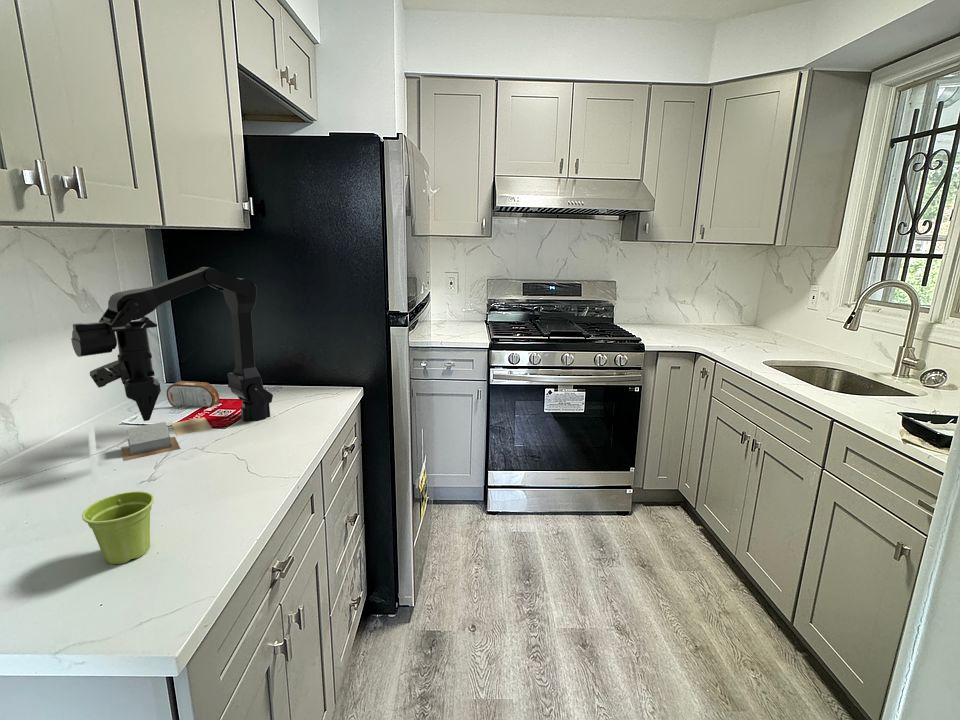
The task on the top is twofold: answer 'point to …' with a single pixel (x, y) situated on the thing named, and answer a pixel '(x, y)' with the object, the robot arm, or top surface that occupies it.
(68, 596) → the top surface
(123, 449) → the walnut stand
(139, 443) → the block
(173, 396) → the tin
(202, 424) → the oak stand
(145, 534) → the plant pot
